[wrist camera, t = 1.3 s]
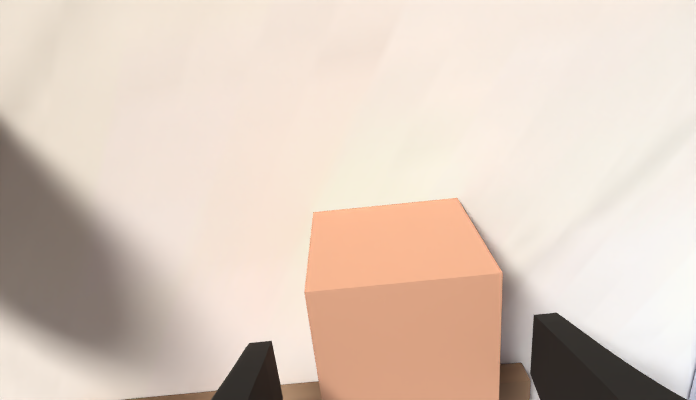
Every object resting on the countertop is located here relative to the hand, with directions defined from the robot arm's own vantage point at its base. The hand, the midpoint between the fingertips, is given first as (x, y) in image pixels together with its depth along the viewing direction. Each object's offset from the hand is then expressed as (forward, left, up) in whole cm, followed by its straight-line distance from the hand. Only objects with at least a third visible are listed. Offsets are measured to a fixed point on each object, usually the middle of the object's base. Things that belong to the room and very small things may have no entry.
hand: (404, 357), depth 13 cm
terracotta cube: (0, 0, -5) cm, 5 cm away
